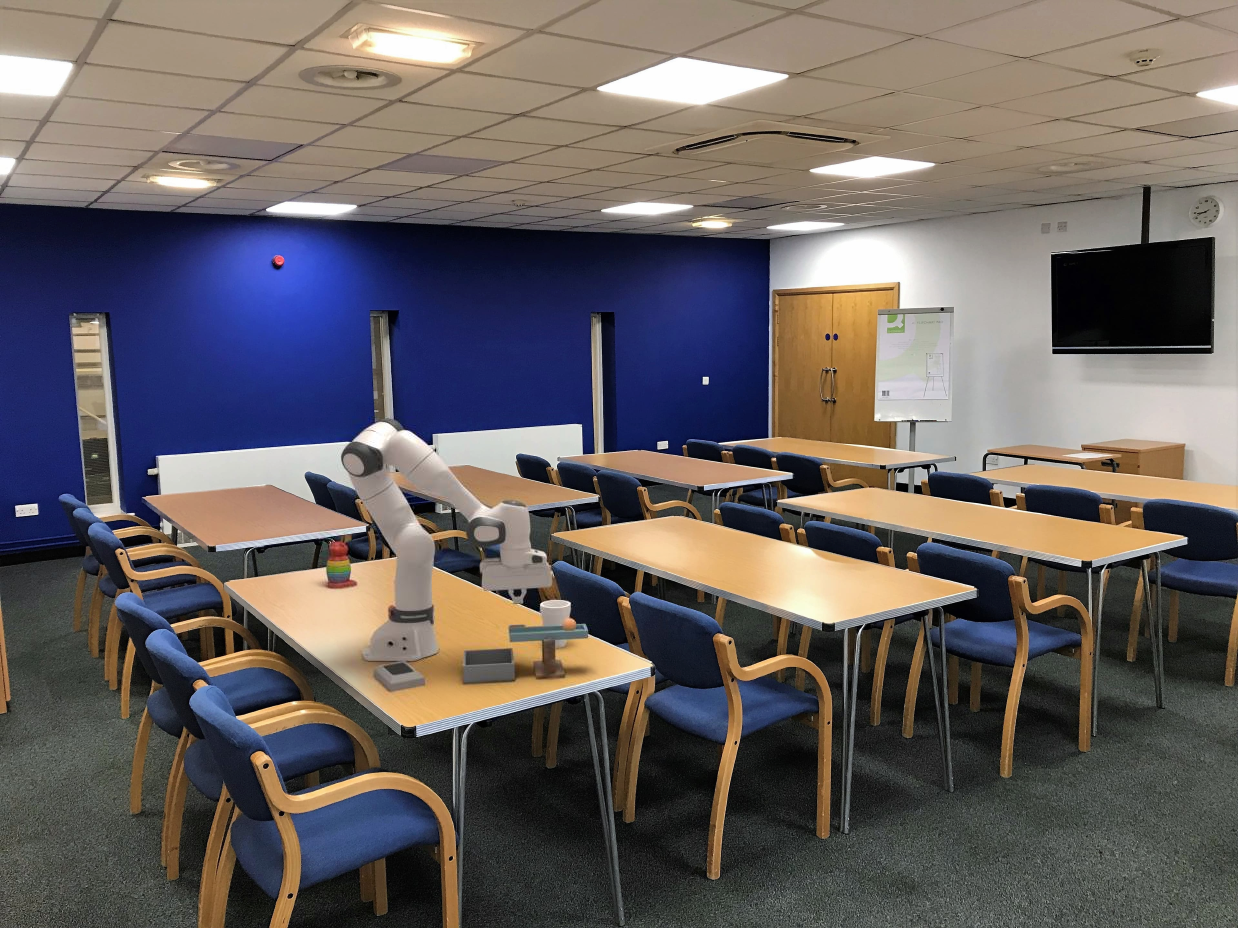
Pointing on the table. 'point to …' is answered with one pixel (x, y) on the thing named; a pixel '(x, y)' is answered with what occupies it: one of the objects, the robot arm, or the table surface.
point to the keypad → (398, 676)
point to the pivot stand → (548, 662)
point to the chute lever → (545, 633)
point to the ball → (569, 625)
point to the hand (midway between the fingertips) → (517, 603)
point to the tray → (488, 666)
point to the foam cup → (555, 615)
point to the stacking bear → (339, 567)
